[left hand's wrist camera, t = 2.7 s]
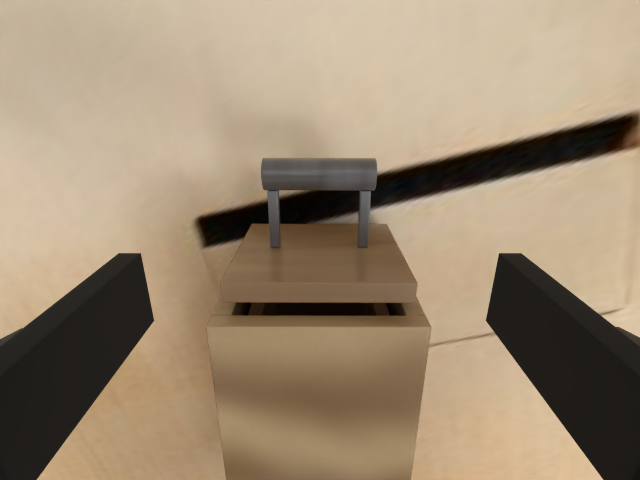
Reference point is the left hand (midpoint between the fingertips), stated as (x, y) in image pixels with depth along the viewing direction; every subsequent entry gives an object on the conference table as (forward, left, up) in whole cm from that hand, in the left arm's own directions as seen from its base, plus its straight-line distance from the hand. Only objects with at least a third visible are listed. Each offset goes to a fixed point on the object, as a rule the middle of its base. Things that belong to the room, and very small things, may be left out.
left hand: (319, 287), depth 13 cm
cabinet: (+14, +6, -14) cm, 21 cm away
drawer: (+9, +4, -13) cm, 17 cm away
